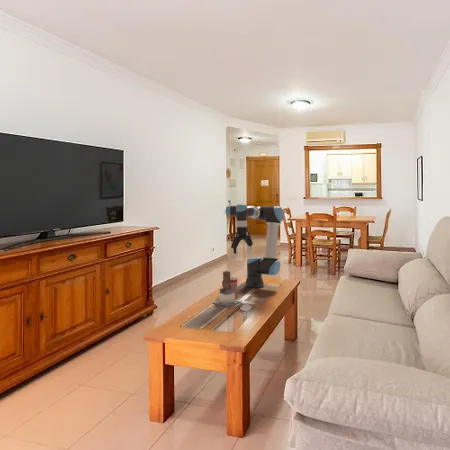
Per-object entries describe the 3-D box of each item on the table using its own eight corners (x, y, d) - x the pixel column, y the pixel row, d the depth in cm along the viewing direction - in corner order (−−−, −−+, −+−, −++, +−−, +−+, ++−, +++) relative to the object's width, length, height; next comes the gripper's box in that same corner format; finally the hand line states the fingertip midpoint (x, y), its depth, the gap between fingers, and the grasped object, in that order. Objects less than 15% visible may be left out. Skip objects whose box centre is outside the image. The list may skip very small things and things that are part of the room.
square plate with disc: (226, 299, 300) (226, 285, 299) (241, 302, 290) (241, 288, 289) (212, 303, 290) (212, 289, 289) (227, 306, 280) (227, 292, 279)
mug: (240, 296, 308) (240, 277, 307) (233, 298, 301) (233, 280, 300) (226, 293, 316) (226, 275, 315) (219, 296, 309) (219, 278, 307)
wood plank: (226, 292, 292) (226, 270, 291) (230, 293, 289) (230, 271, 288) (223, 293, 290) (223, 271, 288) (227, 294, 287) (227, 272, 286)
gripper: (249, 224, 305) (250, 253, 307) (225, 227, 287) (226, 258, 290) (257, 225, 300) (257, 254, 302) (233, 228, 282) (234, 259, 284)
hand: (242, 256), depth 296 cm, fingers open, 13 cm apart
